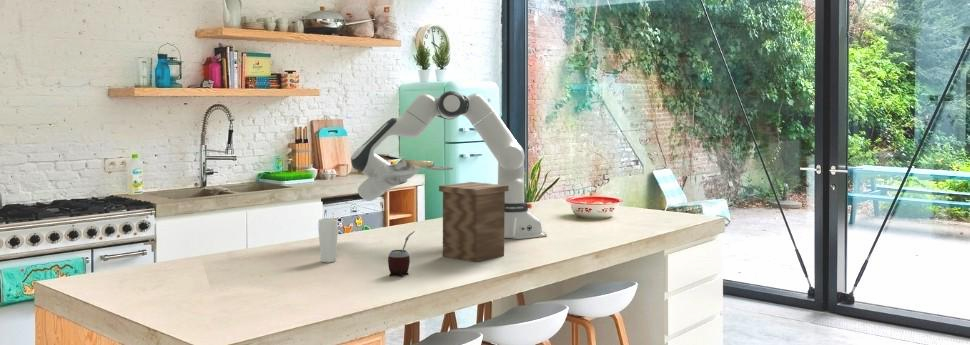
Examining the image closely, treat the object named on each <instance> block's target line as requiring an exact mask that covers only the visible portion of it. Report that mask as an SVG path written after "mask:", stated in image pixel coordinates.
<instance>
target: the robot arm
mask: <svg viewBox="0 0 970 345" xmlns="http://www.w3.org/2000/svg"><path fill="white" fill-rule="evenodd" d="M460 116H464V117H465V118H466V119H467V120H469V122H470V124H471V125H472V126H473V128H474V129H475V131H476V132H477V133H478V134H479V136H480V137H481V139H482V140H483V141H484V143H485V145H486V146H487V147H488V149H489V150H490V152H491V153H492V155H493V156H494V158H495V159H496V161H497V184H498V185H508V186H509V191H505V216H504V239H514V240H523V239H533V238H542V237H547V236H548V232H546V231H544V230H543V227H542V223H541V221H540V219H539V218H538V217H536V216H535V215H534V214H533V213H531V212H530V211H529V209H532V203H530V202H529V203H526V202H525V158H526V157H525V156H526V155H525V151H524V148H523V147H522V145H521V144H520V143H518V141H517V139H515V137H514V136H513V134H512V133H511V131H510V130H509V128H508V127H507V125H506V123H505V122H504V121H503V119H502V118H501V117H500V116H499V114H498V112H497V111H496V110H495V108H493V106H492V105H491V104H490V102H489V101H488V100H487V99H486V98H485V96H482V94H480V93H476V92H475V93H471V94H469V95H468V96H466V95H463V94H462V93H459V92H458V91H454V90H449V91H448V90H447V91H445V92H444V93H442V94H441V95H440V96H439V97H434V96H432V95H431V94H428V93H421V94H419V95H418V96H417V97H416V98H415V99H414V100H413V101H412V102H411V103H410V104H409V106H408V107H407V108H406V110H405V111H404V112H403V113H402V115H400V116H398V117H392V118H390V119H389V120H387V121H385V123H384V124H382V125H381V126H380V127H379V128H378V129H377V130H376V131H375V132H374V133H373V134H372V135H371V136H370V138H368V140H366V141H365V142H364V143H363V144H362V145H361V146H359V147H358V148H357V149H356V150H355V151H354V152H353V154H352V155H351V157H350V162H351V166H352V168H353V169H355V170H356V171H358V172H359V173H362V174H364V175H365V177H367V178H366V179H365V180H363V182H362V183H361V184H360V185H359V186H357V187H358V188H357V192H358V195H359V197H361V198H362V199H363V200H364V201H367V202H372V201H375V200H377V199H378V198H380V197H381V196H383V195H384V194H385V193H386V192H388V191H390V190H391V189H393V188H395V187H397V186H399V185H403V184H406V183H407V182H408V180H409V179H411V178H413V177H414V176H415V175H416V174H418V173H419V172H420V170H421V169H420V167H409V166H406V165H407V164H408V163H407V161H406V160H407V159H406V160H405V161H402V162H400V163H399V162H398V163H390V162H389V161H388V160H386V159H384V158H383V157H382V156H380V155H379V154H377V153H376V152H375V150H376V149H377V148H378V147H379V146H380V145H381V144H382V143H383V142H384V141H385V139H387V138H388V137H391V136H399V137H403V138H406V139H415V138H418V137H420V136H422V134H423V133H424V132H425V131H426V130H427V128H428V127H429V125H430V123H432V121H433V120H434V119H435V118H436V117H438V118H441V119H443V120H444V119H445V120H448V121H449V120H454V119H457V118H458V117H460Z"/></svg>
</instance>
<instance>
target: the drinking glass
mask: <svg viewBox="0 0 970 345" xmlns="http://www.w3.org/2000/svg"><path fill="white" fill-rule="evenodd" d="M338 223H339V220H338V218H332V217H326V218H325V217H324V218H320V219H318V227H317V228H318V240H319V252H320V262H322V263H324V262H325V263H335V262H336V261H337V248H338V246H337V245H338V235H339V233H338V232H339V224H338ZM325 263H324V264H325Z"/></svg>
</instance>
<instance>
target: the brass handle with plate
mask: <svg viewBox="0 0 970 345" xmlns="http://www.w3.org/2000/svg"><path fill="white" fill-rule="evenodd" d="M405 160H406V161H407V163H408V164H407V165H406V166H409V167H419V168H424V169H426V170H432V171H433V170H435V171H449V170H454V167H446V166H438V165H437V166H435V163H434V161H431V160H430V161H429V160H418V159H416V160H415V159H405V158H404V159H402V158H401V159H399V162H398V163H400V162H402V161H405Z"/></svg>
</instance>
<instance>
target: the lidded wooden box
mask: <svg viewBox="0 0 970 345" xmlns="http://www.w3.org/2000/svg"><path fill="white" fill-rule="evenodd" d="M505 191H509V186H508V185H498V183H497V184H494V183H487V182H474V181H467V182H460V183H451V184H444V185H443V184H442V185H438V192H440V193H441V192H442V257H444V258H449V259H457V260H463V261H467V262H473V263H478V262H483V261H487V260H491V259H496V258H500V257H505V238H504V216H505Z"/></svg>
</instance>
